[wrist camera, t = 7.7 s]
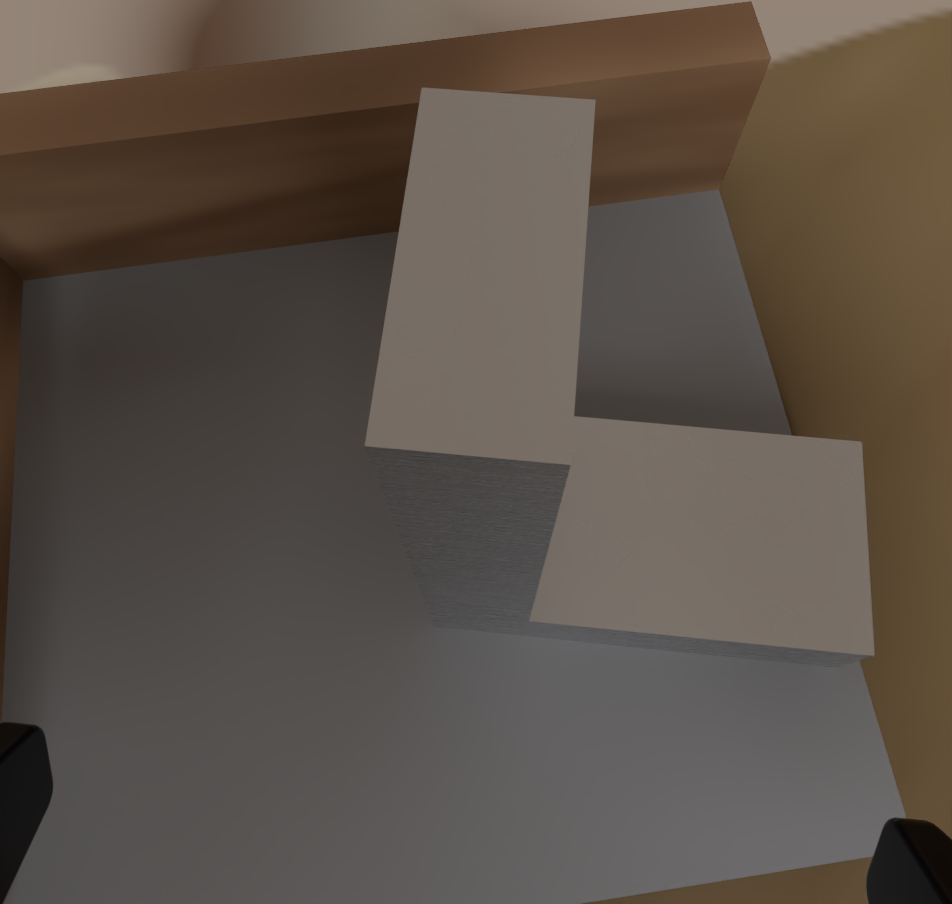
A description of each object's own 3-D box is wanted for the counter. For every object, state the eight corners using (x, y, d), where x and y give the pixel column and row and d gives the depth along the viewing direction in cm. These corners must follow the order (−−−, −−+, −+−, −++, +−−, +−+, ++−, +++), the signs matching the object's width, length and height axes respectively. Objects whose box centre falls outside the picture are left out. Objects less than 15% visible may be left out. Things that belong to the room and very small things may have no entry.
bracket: (834, 667, 16) (1294, 531, 7) (433, 626, 17) (364, 445, 7) (827, 473, 18) (1201, 142, 8) (456, 438, 18) (422, 87, 9)
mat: (896, 846, 16) (916, 849, 15) (-72, 1002, 15) (-101, 1014, 15) (696, 161, 22) (704, 139, 21) (-19, 254, 21) (-38, 234, 20)
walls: (916, 849, 15) (1053, 875, 12) (-101, 1014, 15) (-304, 1098, 11) (704, 139, 21) (751, 1, 17) (-38, 234, 20) (-158, 113, 16)
